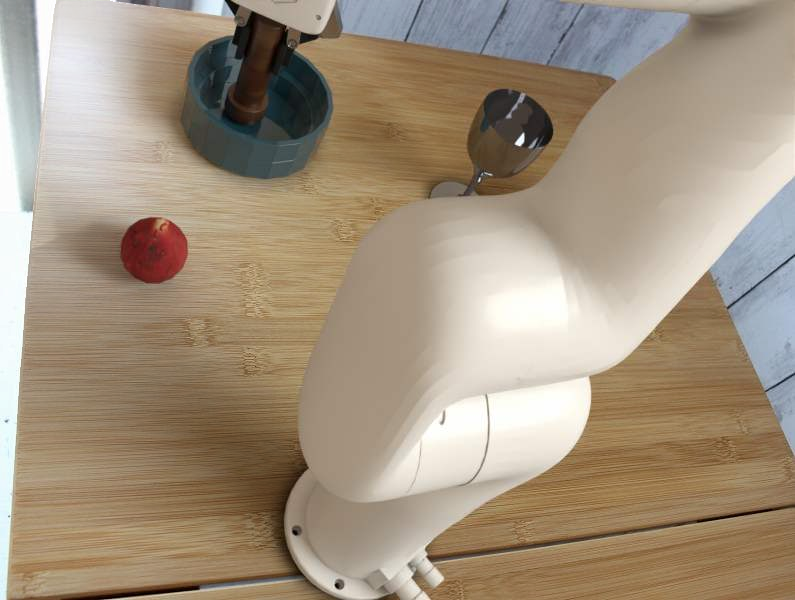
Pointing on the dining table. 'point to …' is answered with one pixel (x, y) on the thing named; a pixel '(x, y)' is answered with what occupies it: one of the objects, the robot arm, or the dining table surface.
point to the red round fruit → (154, 250)
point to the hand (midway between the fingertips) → (260, 57)
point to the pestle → (255, 72)
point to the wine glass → (502, 140)
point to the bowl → (275, 134)
